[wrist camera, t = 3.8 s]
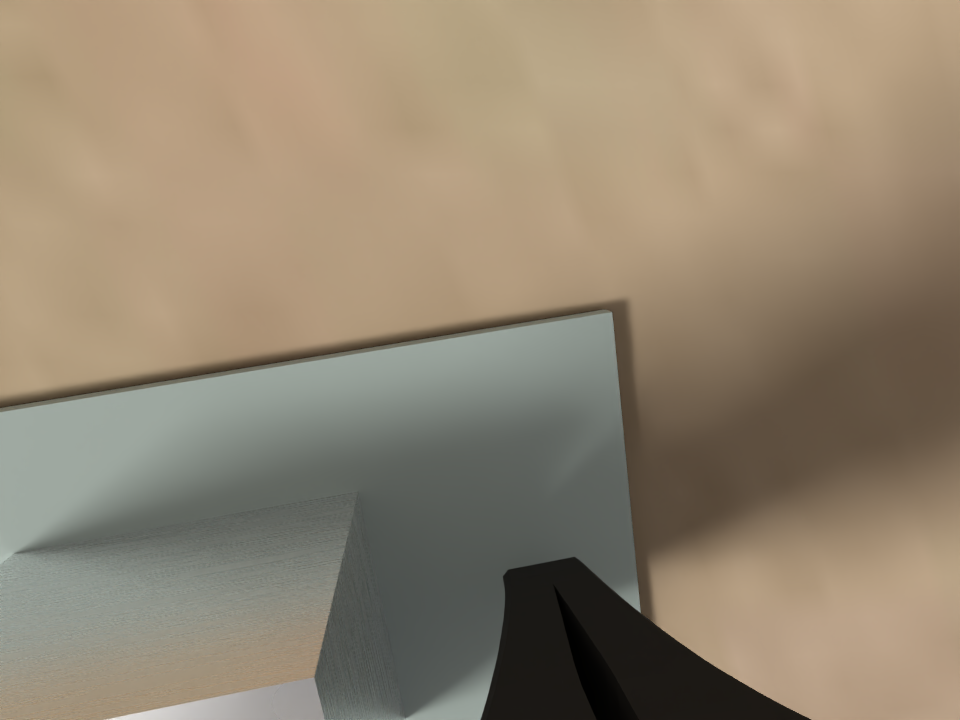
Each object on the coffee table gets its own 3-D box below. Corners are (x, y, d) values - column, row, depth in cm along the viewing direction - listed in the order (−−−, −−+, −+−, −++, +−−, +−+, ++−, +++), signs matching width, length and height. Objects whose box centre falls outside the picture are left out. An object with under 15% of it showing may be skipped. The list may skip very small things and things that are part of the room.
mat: (604, 309, 11) (612, 311, 10) (654, 818, 13) (661, 836, 13) (-749, 530, 9) (-800, 543, 9) (-381, 1056, 12) (-409, 1085, 11)
